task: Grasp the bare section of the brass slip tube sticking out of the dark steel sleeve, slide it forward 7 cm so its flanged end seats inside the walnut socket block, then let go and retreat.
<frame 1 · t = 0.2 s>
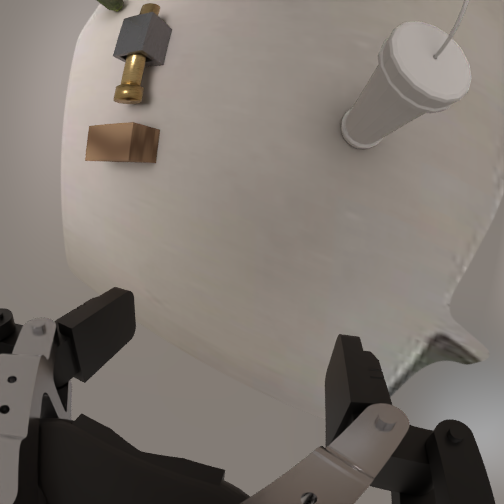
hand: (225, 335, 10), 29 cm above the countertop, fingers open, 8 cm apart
socket: (135, 146, 39), on the countertop
vegetable: (123, 9, 33), on the countertop
sleeve: (153, 48, 35), on the countertop
pipe: (360, 127, 33), on the countertop
tube: (138, 50, 31), point 4 cm above the countertop, slide at 0.0 cm
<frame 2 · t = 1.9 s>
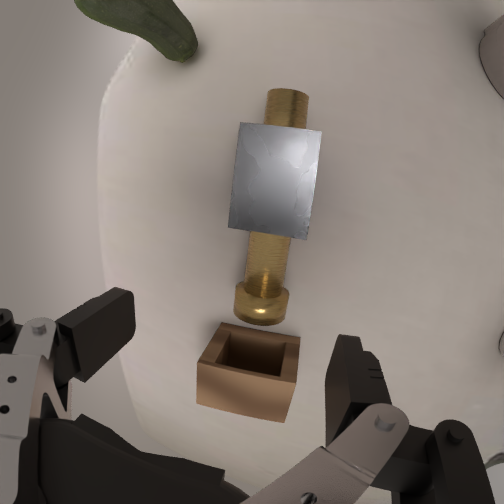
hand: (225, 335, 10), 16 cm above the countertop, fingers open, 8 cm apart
socket: (257, 350, 28), on the countertop
vegetable: (193, 58, 23), on the countertop
sleeve: (282, 180, 24), on the countertop
tube: (274, 207, 21), point 4 cm above the countertop, slide at 0.0 cm
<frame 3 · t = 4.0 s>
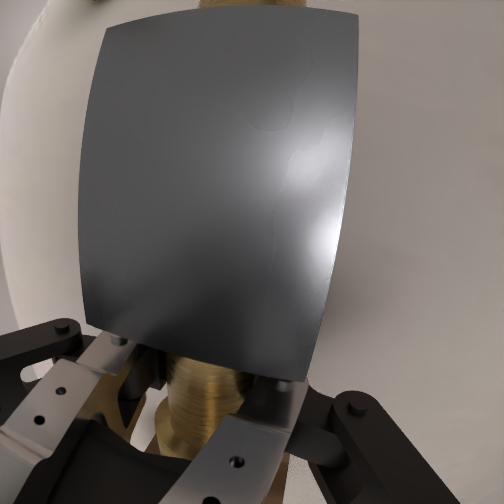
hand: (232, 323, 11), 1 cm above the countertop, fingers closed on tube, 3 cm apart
socket: (224, 454, 15), on the countertop
sleeve: (255, 181, 11), on the countertop
tube: (220, 256, 8), point 4 cm above the countertop, slide at 0.0 cm, touching gripper
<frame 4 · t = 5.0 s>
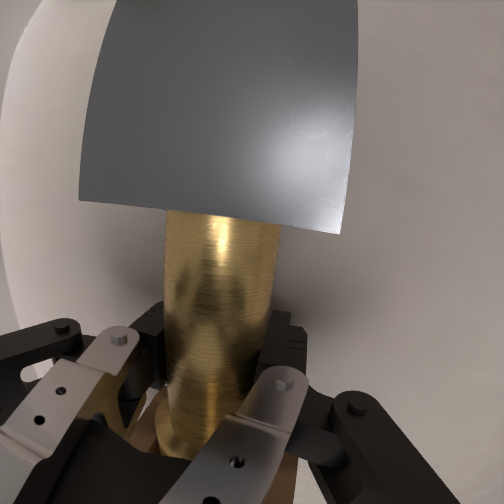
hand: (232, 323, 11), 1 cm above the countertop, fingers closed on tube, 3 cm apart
socket: (226, 430, 15), on the countertop
sleeve: (263, 108, 10), on the countertop
tube: (220, 255, 8), point 4 cm above the countertop, slide at 3.0 cm, touching gripper
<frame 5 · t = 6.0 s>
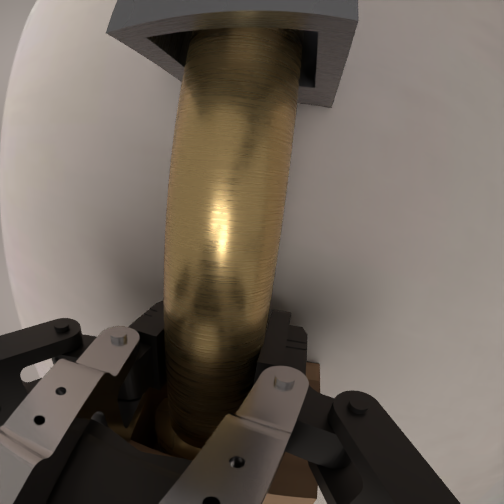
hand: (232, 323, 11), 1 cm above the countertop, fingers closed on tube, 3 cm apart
socket: (231, 386, 14), on the countertop
sleeve: (274, 29, 9), on the countertop
tube: (220, 256, 8), point 4 cm above the countertop, slide at 6.9 cm, touching gripper
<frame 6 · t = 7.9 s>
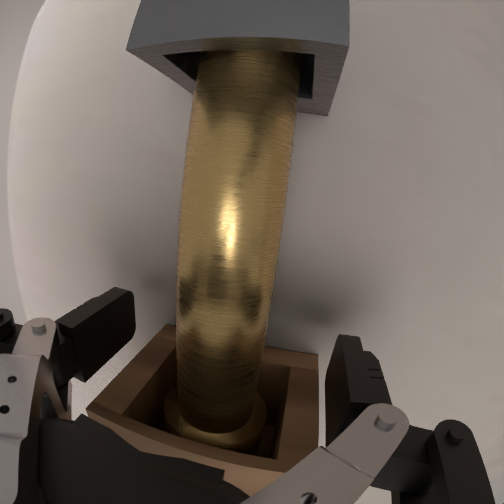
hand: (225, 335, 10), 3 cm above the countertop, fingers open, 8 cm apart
socket: (234, 378, 14), on the countertop
sleeve: (274, 41, 10), on the countertop
tube: (227, 251, 9), point 4 cm above the countertop, slide at 6.9 cm
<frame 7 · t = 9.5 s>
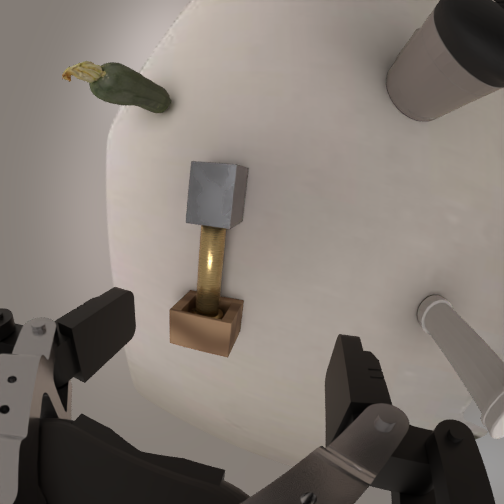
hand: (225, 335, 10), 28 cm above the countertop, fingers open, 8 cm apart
socket: (215, 310, 41), on the countertop
vegetable: (169, 108, 36), on the countertop
sleeve: (226, 192, 37), on the countertop
pipe: (432, 307, 35), on the countertop
tube: (210, 265, 35), point 4 cm above the countertop, slide at 6.9 cm
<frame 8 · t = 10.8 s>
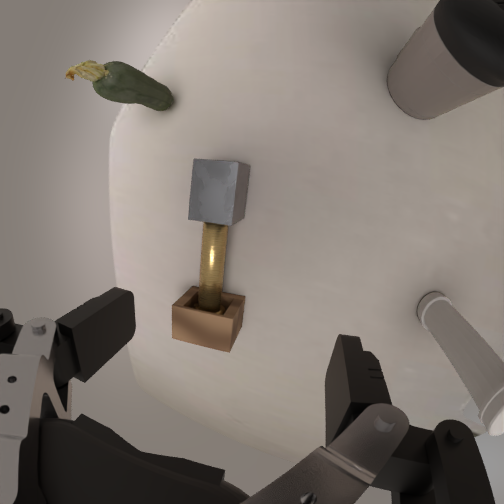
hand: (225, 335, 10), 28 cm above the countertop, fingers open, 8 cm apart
socket: (217, 306, 42), on the countertop
vegetable: (171, 106, 36), on the countertop
sleeve: (228, 189, 37), on the countertop
pipe: (432, 304, 36), on the countertop
tube: (212, 261, 36), point 4 cm above the countertop, slide at 6.9 cm
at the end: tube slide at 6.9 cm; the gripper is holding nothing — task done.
